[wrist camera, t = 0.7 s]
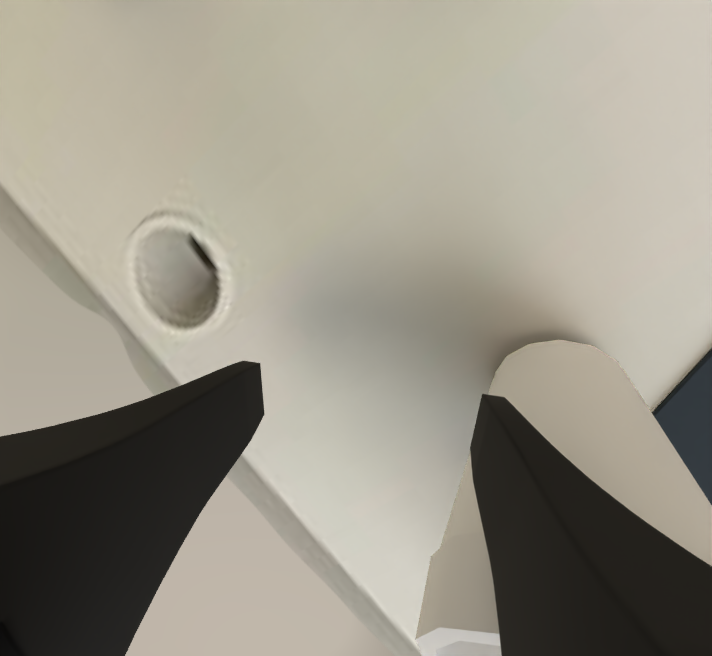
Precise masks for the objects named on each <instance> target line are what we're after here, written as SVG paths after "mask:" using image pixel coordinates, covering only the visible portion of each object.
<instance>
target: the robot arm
mask: <svg viewBox="0 0 712 656" xmlns="http://www.w3.org/2000/svg"><path fill="white" fill-rule="evenodd" d="M263 416H264V405H263V393H262V381H261V369H260V363H255V362H248V361H241V362H238V363H235V364H232V365H230V366H227V367H224V368H222V369H220V370H217V371H215V372H212V373H210V374H208V375H205V376H203V377H201V378H198V379H196V380H193V381H191V382H189V383H186V384H184V385H181V386H179V387H176V388H174V389H171V390H169V391H166V392H163V393H161V394H158V395H156V396H153V397H151V398H148V399H145V400H143V401H139V402H136V403H133V404H131V405H127V406H124V407H121V408H118V409H115V410H112V411H108V412H105V413H102V414H98V415H95V416H90V417H86V418H82V419H79V420H74V421H70V422H67V423H63V424H59V425H55V426H50V427H46V428H41V429H37V430H32V431H27V432H22V433H17V434H12V435H7V436H1V437H0V656H125V654H126V652H127V650H128V648H129V646H130V644H131V642H132V640H133V637H134V635H135V633H136V631H137V629H138V627H139V625H140V623H141V621H142V619H143V617H144V615H145V613H146V611H147V610H148V607H149V605H150V604H151V602H152V599H153V597H154V596H155V594H156V591H157V590H158V588H159V586H160V584H161V582H162V580H163V578H164V577H165V575H166V573H167V571H168V569H169V567H170V565H171V564H172V562H173V560H174V558H175V556H176V554H177V553H178V550H179V549H180V547H181V545H182V544H183V542H184V540H185V538H186V537H187V535H188V533H189V531H190V530H191V528H192V526H193V524H194V523H195V521H196V519H197V517H198V516H199V514H200V513H201V511H202V509H203V508H204V506H205V505H206V503H207V502H208V500H209V499H210V497H211V496H212V495H213V493H214V492H215V490H216V489H217V487H218V486H219V484H220V483H221V482H222V480H223V479H224V478H225V476H226V475H227V473H228V472H229V471H230V469H231V468H232V466H233V465H234V464H235V462H236V461H237V459H238V458H239V457H240V455H241V454H242V452H243V451H244V449H245V448H246V446H247V445H248V444H249V442H250V441H251V439H252V437H253V435H254V433H255V431H256V430H257V428H258V426H259V424H260V422H261V420H262V418H263ZM470 452H471V466H472V476H473V483H474V488H475V493H476V498H477V503H478V508H479V512H480V517H481V522H482V527H483V531H484V536H485V541H486V545H487V550H488V555H489V559H490V565H491V571H492V577H493V583H494V592H495V600H496V609H497V617H498V626H499V635H500V645H501V654H502V656H712V566H711V565H709V564H707V563H706V562H704V561H703V560H701V559H700V558H698V557H697V556H695V555H694V554H692V553H691V552H689V551H687V550H686V549H685V548H683V547H682V546H680V545H679V544H677V543H676V542H674V541H673V540H671V539H670V538H669V537H667V536H666V535H664V534H663V533H661V532H660V531H658V530H657V529H655V528H654V527H653V526H651V525H650V524H648V523H647V522H646V521H644V520H643V519H641V518H640V517H639V516H637V515H636V514H635V513H633V512H632V511H630V510H629V509H628V508H627V507H625V506H624V505H623V504H621V503H620V502H619V501H618V500H616V499H615V498H614V497H612V496H611V495H610V494H609V493H607V492H606V491H605V490H603V489H602V488H601V487H600V486H598V485H597V484H596V483H595V482H593V481H592V480H591V479H590V478H589V477H587V476H586V475H585V474H584V473H583V472H582V471H581V470H579V469H578V468H577V467H576V466H575V465H574V464H573V463H571V462H570V461H569V460H568V459H567V458H566V457H565V456H564V455H563V454H561V453H560V452H559V451H558V450H557V449H556V448H555V447H554V446H553V445H552V444H551V443H550V442H549V441H548V440H547V439H546V438H545V437H544V436H543V435H542V434H541V433H540V432H539V431H538V430H537V429H536V428H535V427H534V426H533V425H532V424H531V423H530V422H529V421H528V420H527V419H526V418H525V417H524V416H523V415H522V414H521V413H520V412H519V411H518V410H517V409H516V408H515V407H514V406H513V405H512V404H511V403H510V402H509V401H508V400H507V399H506V398H505V397H501V396H494V395H486V394H482V398H481V402H480V407H479V411H478V416H477V420H476V424H475V429H474V433H473V438H472V442H471V447H470Z"/></svg>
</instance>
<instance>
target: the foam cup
mask: <svg viewBox="0 0 712 656" xmlns="http://www.w3.org/2000/svg"><path fill="white" fill-rule="evenodd" d="M488 395H494V396H501V397H505V398H506V399H507V400H508V401H509V402H510V403H511V404H512V405H513V406H514V407H515V408H516V409H517V410H518V411H519V412H520V413H521V414H522V415H523V416H524V417H525V418H526V419H527V420H528V421H529V422H530V423H531V424H532V425H533V426H534V427H535V428H536V429H537V430H538V431H539V432H540V433H541V434H542V435H543V436H544V437H545V438H546V439H547V440H548V441H549V442H550V443H551V444H552V445H553V446H554V447H555V448H556V449H557V450H558V451H559V452H560V453H561V454H563V455H564V456H565V457H566V458H567V459H568V460H569V461H570V462H571V463H573V464H574V465H575V466H576V467H577V468H578V469H579V470H581V471H582V472H583V473H584V474H585V475H586V476H587V477H589V478H590V479H591V480H592V481H593V482H595V483H596V484H597V485H598V486H600V487H601V488H602V489H603V490H605V491H606V492H607V493H609V494H610V495H611V496H612V497H614V498H615V499H616V500H618V501H619V502H620V503H621V504H623V505H624V506H625V507H627V508H628V509H629V510H630V511H632V512H633V513H635V514H636V515H637V516H639V517H640V518H641V519H643V520H644V521H646V522H647V523H648V524H650V525H651V526H653V527H654V528H655V529H657V530H658V531H660V532H661V533H663V534H664V535H666V536H667V537H669V538H670V539H671V540H673V541H674V542H676V543H677V544H679V545H680V546H682V547H683V548H685V549H686V550H687V551H689V552H691V553H692V554H694V555H695V556H697V557H698V558H700V559H701V560H703V561H704V562H706V563H707V564H709V565H711V566H712V505H711V504H710V502H709V501H708V499H707V498H706V496H705V494H704V493H703V491H702V490H701V488H700V487H699V485H698V484H697V482H696V481H695V479H694V477H693V476H692V474H691V473H690V471H689V470H688V468H687V467H686V465H685V464H684V462H683V460H682V459H681V457H680V456H679V454H678V453H677V451H676V450H675V448H674V447H673V445H672V443H671V442H670V440H669V439H668V437H667V436H666V434H665V433H664V431H663V430H662V428H661V426H660V425H659V423H658V422H657V420H656V419H655V417H654V416H653V414H652V413H651V411H650V409H649V408H648V406H647V405H646V403H645V402H644V400H643V399H642V397H641V396H640V394H639V392H638V391H637V389H636V388H635V386H634V385H633V383H632V382H631V380H630V379H629V377H628V375H627V374H626V372H625V371H624V369H623V368H621V366H620V364H619V363H618V361H617V360H615V359H614V358H612V357H610V356H609V355H607V354H605V353H604V352H602V351H601V350H599V349H597V348H596V347H594V346H592V345H587V344H581V343H576V342H570V341H565V340H554V341H546V342H539V343H532V344H528V345H526V346H524V347H522V348H520V349H519V350H517V351H515V352H513V353H511V354H509V355H507V356H506V357H505V359H504V360H503V362H502V363H501V365H500V366H499V368H498V369H497V371H496V372H495V377H494V378H493V380H492V383H491V386H490V389H489V393H488ZM415 640H416V642H417V645H418V647H419V650H420V653H421V655H422V656H502V654H501V645H500V635H499V626H498V617H497V609H496V600H495V592H494V583H493V577H492V571H491V565H490V559H489V555H488V550H487V545H486V541H485V536H484V531H483V527H482V522H481V517H480V512H479V508H478V503H477V498H476V493H475V488H474V483H473V476H472V466H471V452H470V454H469V457H468V460H467V463H466V466H465V470H464V473H463V476H462V479H461V482H460V486H459V489H458V492H457V495H456V498H455V502H454V505H453V508H452V511H451V515H450V518H449V521H448V524H447V527H446V531H445V534H444V537H443V540H442V543H441V547H440V549H439V550H437V551H436V552H435V553H434V554H433V555H432V556H431V560H430V565H429V570H428V576H427V581H426V586H425V591H424V597H423V602H422V607H421V613H420V618H419V623H418V628H417V634H416V639H415Z"/></svg>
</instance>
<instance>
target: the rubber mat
mask: <svg viewBox="0 0 712 656" xmlns="http://www.w3.org/2000/svg"><path fill="white" fill-rule="evenodd" d="M652 414H653V416H654V417H655V419H656V420H657V422H658V423H659V425H660V426H661V428H662V430H663V431H664V433H665V434H666V436H667V437H668V439H669V440H670V442H671V443H672V445H673V447H674V448H675V450H676V451H677V453H678V454H679V456H680V457H681V459H682V460H683V462H684V464H685V465H686V467H687V468H688V470H689V471H690V473H691V474H692V476H693V477H694V479H695V481H696V482H697V484H698V485H699V487H700V488H701V490H702V491H703V493H704V494H705V496H706V498H707V499H708V501H709V502H710V504H711V505H712V350H711V351H710V352H709V353H708V354H707V355H706V356H705V357H704V358H703V359H702V360H701V361H700V363H699V364H698V365H697V366H696V367H695V368H694V369H693V370H692V371H691V372H690V373H689V374H688V375H687V377H686V378H685V379H684V380H683V381H682V382H681V383H680V384H679V385H678V386H677V387H676V388H675V389H674V390H673V392H672V393H671V394H670V395H669V396H668V397H667V398H666V399H665V400H664V401H663V402H662V403H661V404H660V405H659V407H658V408H657V409H656V410H655V411H654V412H653V413H652Z"/></svg>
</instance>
